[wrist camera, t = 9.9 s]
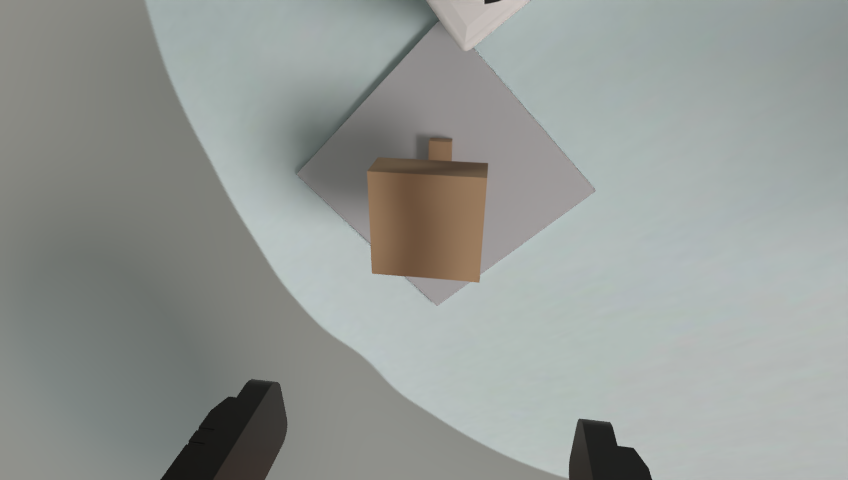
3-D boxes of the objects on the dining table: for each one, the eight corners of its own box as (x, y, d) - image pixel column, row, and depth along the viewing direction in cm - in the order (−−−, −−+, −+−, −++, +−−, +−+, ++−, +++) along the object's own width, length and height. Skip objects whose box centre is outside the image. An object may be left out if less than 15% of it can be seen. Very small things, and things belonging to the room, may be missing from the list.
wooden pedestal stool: (489, 140, 28) (487, 178, 22) (482, 227, 31) (479, 282, 25) (394, 136, 29) (366, 171, 23) (396, 221, 32) (372, 273, 26)
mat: (594, 188, 29) (595, 191, 29) (437, 303, 35) (437, 306, 35) (444, 14, 26) (444, 14, 26) (298, 172, 32) (296, 174, 31)
